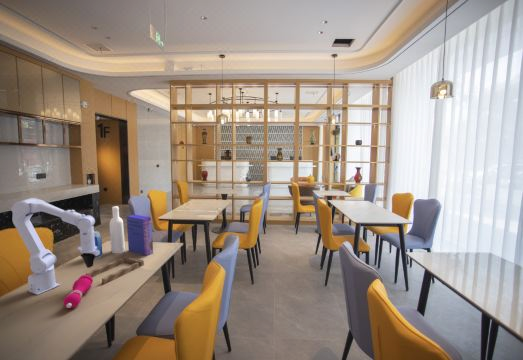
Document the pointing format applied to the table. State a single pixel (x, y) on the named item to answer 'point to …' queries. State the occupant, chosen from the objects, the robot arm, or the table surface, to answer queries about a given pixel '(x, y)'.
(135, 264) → the u rest
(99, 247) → the beer can
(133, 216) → the cereal box
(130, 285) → the table surface
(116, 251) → the bottle
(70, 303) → the pepper mill
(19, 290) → the table surface
